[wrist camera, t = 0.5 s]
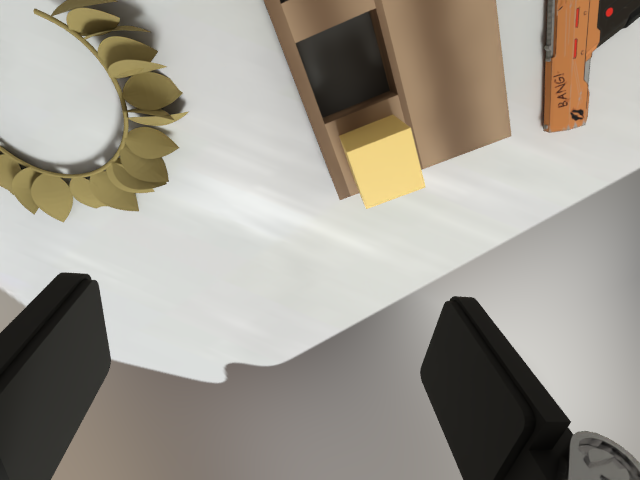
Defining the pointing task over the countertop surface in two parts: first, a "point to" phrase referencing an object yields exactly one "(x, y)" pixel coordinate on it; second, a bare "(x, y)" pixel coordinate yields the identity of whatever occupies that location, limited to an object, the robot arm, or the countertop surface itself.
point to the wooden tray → (396, 73)
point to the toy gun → (577, 54)
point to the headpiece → (141, 143)
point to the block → (383, 160)
